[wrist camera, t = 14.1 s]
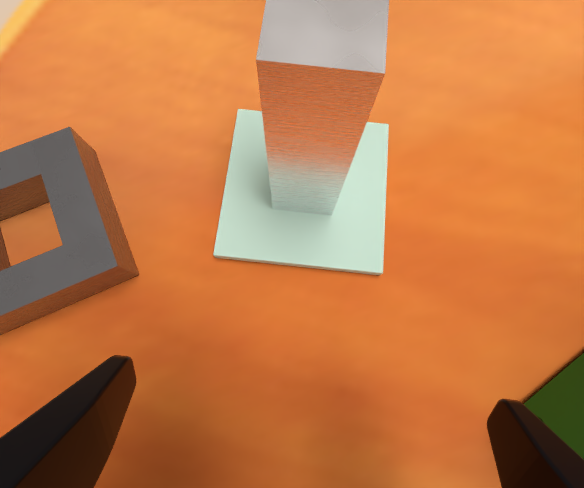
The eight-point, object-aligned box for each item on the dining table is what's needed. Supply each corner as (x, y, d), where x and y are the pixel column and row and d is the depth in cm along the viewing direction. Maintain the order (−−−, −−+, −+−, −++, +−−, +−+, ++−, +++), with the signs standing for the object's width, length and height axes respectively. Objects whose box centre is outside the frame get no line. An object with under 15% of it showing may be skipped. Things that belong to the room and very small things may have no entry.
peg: (331, 215, 23) (384, 73, 11) (272, 208, 23) (256, 59, 11) (336, 162, 24) (390, -26, 12) (280, 155, 24) (272, -38, 12)
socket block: (139, 274, 23) (117, 265, 20) (-15, 341, 22) (-62, 342, 19) (95, 150, 25) (69, 126, 22) (-47, 204, 24) (-93, 186, 21)
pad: (379, 275, 23) (382, 273, 22) (215, 257, 23) (213, 254, 22) (385, 130, 26) (388, 124, 25) (239, 115, 26) (238, 108, 25)
